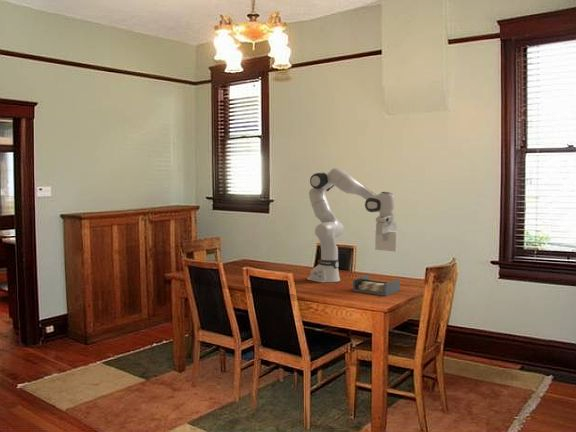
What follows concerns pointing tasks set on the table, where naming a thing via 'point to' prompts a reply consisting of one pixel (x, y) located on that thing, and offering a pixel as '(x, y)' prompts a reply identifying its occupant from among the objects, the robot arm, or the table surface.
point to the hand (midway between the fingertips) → (386, 240)
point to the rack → (388, 286)
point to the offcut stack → (372, 286)
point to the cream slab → (390, 243)
